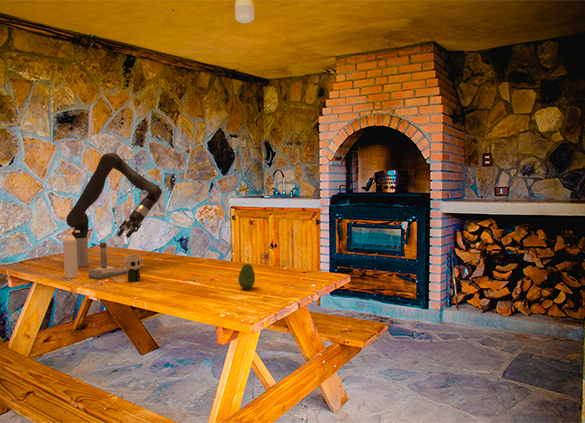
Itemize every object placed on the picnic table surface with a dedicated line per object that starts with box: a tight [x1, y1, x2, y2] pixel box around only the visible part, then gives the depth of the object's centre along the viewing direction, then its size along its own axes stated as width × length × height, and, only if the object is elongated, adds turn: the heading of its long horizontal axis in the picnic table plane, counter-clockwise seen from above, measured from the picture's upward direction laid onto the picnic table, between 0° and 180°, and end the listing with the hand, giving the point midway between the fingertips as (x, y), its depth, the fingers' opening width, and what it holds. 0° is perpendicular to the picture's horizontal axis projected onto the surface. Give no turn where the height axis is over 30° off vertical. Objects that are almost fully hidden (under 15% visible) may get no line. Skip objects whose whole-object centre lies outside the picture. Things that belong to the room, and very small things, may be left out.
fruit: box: [238, 263, 256, 290], centre depth 202 cm, size 8×8×12 cm
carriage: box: [94, 241, 115, 274], centre depth 230 cm, size 6×7×16 cm
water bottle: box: [62, 231, 80, 280], centre depth 230 cm, size 9×6×25 cm
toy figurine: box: [122, 254, 144, 282], centre depth 221 cm, size 11×7×13 cm, turn 138°
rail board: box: [87, 267, 140, 281], centre depth 236 cm, size 9×25×5 cm, turn 145°
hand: (122, 236), depth 239 cm, fingers open, 8 cm apart
